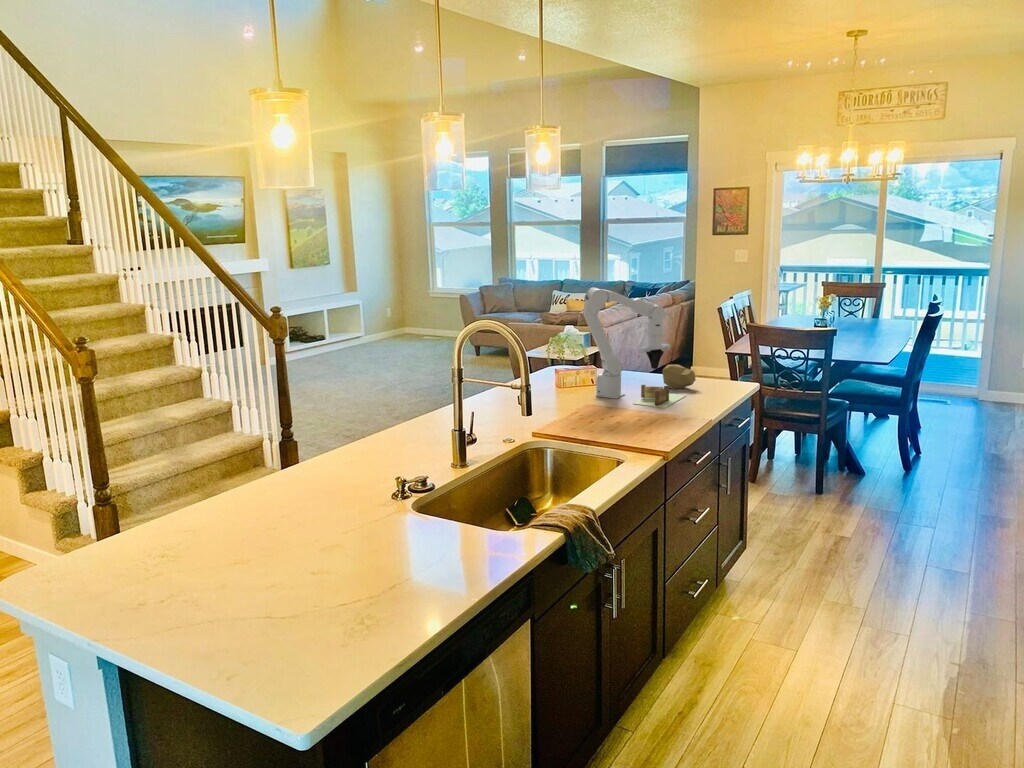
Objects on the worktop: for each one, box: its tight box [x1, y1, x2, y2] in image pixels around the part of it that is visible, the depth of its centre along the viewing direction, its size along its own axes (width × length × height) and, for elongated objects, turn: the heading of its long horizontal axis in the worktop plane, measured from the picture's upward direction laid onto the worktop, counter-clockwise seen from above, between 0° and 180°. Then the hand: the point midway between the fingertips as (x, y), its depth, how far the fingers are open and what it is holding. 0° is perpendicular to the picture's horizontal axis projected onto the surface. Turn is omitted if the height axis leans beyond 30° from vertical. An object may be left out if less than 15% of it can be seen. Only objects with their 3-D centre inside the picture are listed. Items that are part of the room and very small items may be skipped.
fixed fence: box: [655, 385, 670, 406], centre depth 295 cm, size 2×11×6 cm, turn 147°
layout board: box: [633, 392, 687, 409], centre depth 300 cm, size 13×22×1 cm, turn 147°
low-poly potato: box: [662, 364, 697, 390], centre depth 319 cm, size 15×11×12 cm
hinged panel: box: [640, 383, 664, 399], centre depth 300 cm, size 8×2×5 cm, turn 69°
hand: (654, 368), depth 309 cm, fingers closed
